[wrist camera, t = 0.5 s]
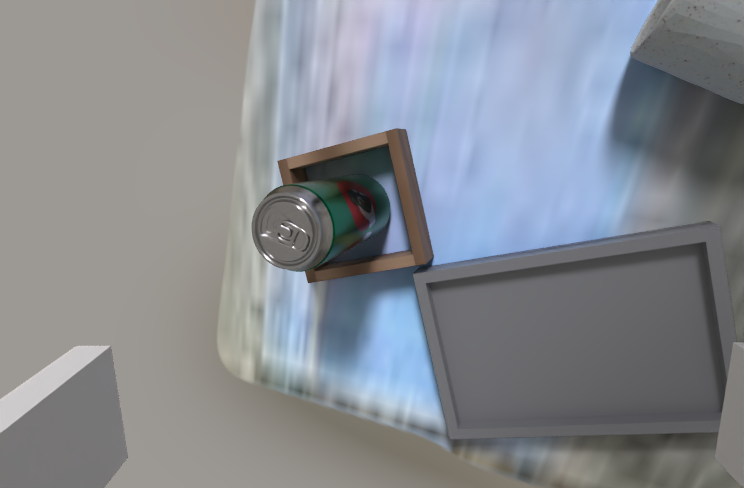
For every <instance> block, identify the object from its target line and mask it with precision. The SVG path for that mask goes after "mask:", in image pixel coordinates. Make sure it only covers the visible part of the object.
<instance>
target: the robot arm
mask: <svg viewBox="0 0 744 488" xmlns="http://www.w3.org/2000/svg"><path fill="white" fill-rule="evenodd" d="M127 458H128V454H127V447H126V441H125V434H124V428H123V421H122V415H121V408H120V402H119V395H118V389H117V382H116V375H115V369H114V363H113V356H112V349H111V346H76V347H74V348H73V349H71V350H70V351H68V352H67V353H66V354H64V355H63V356H61V357H60V358H58V359H57V360H56V361H54V362H53V363H52V364H50V365H48V366H47V367H46V368H44V369H43V370H41V371H40V372H38V373H37V374H36V375H34V376H33V377H31V378H30V379H29V380H27V381H26V382H24V383H23V384H22V385H20V386H19V387H17V388H16V389H14V390H13V391H11V392H10V393H9V394H7V395H6V396H4V397H3V398H1V399H0V488H104V487H105V486H106V485H107V483H108V482H109V481H110V480H111V478H112V477H113V476H114V474H115V473H116V472H117V471H118V470H119V468H120V467H121V466H122V464H123V463H124V462H125V461H126V459H127ZM714 459H715V460H716V461H717V462H718V463H719V464H720V465H721V466H722V467H723V468H724V469H725V470H726V471H727V472H728V473H729V474H730V475H731V476H732V477H733V478H734V479H735V480H736V481H737V482H738V483H739V484H740V485H741V486H742V487H743V488H744V342H739V343H733V347H732V353H731V360H730V366H729V372H728V378H727V384H726V390H725V397H724V403H723V409H722V415H721V421H720V427H719V434H718V440H717V446H716V452H715V458H714Z"/></svg>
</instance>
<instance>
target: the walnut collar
mask: <svg viewBox="0 0 744 488" xmlns="http://www.w3.org/2000/svg"><path fill="white" fill-rule="evenodd" d="M386 146H389V150H390V154H391V159H392V163H393V167H394V172H395V176H396V181H397V185H398V190H399V194H400V199H401V203H402V208H403V212H404V217H405V221H406V226H407V230H408V235H409V239H410V243H411V248H412V250H406V251H401V252H395V253H389V254H384V255H378V256H372V257H367V258H361V259H355V260H350V261H344V262H338V263H333V264H328V262H325V263H323V264H321V265H319V266H318V267H316V268H314V269H311V270H308V271H305V273H306V277H307V281H308V283H311V282H318V281H324V280H330V279H336V278H342V277H348V276H354V275H360V274H367V273H373V272H379V271H385V270H391V269H397V268H403V267H409V266H415V265H422V264H426V263H427V262H428V261H430V260H431V259H432V258H433V257H434V255H433V250H432V246H431V241H430V237H429V232H428V228H427V223H426V218H425V214H424V209H423V205H422V200H421V196H420V191H419V186H418V182H417V177H416V173H415V168H414V164H413V159H412V154H411V150H410V145H409V141H408V136H407V132H406V130H405V129H393V130H389V131H385V132H382V133H378V134H374V135H371V136H367V137H364V138H360V139H356V140H353V141H349V142H345V143H342V144H338V145H334V146H331V147H327V148H323V149H320V150H316V151H313V152H309V153H305V154H302V155H298V156H294V157H291V158H287V159H283V160H280V161H278V165H279V169H280V173H281V177H282V181H283V185H288V184H294V183H301V182H308V180H307V176H306V172H305V168H306V167H309V166H313V165H317V164H321V163H325V162H328V161H332V160H336V159H340V158H344V157H347V156H351V155H355V154H359V153H363V152H367V151H370V150H374V149H378V148H382V147H386Z"/></svg>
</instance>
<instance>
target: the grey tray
mask: <svg viewBox="0 0 744 488" xmlns="http://www.w3.org/2000/svg"><path fill="white" fill-rule="evenodd" d="M413 278H414V282H415V287H416V291H417V296H418V300H419V305H420V309H421V313H422V318H423V322H424V327H425V331H426V336H427V340H428V345H429V349H430V353H431V358H432V362H433V367H434V371H435V376H436V380H437V385H438V389H439V394H440V398H441V402H442V407H443V411H444V416H445V420H446V425H447V429H448V434H449V438H450V439H482V438H520V437H558V436H595V435H633V434H671V433H709V432H719V427H720V421H721V415H722V409H723V403H724V397H725V390H726V384H727V378H728V372H729V366H730V360H731V353H732V347H733V343H737V338H736V331H735V325H734V318H733V311H732V305H731V298H730V291H729V284H728V278H727V271H726V264H725V258H724V251H723V244H722V237H721V231H720V226H718V225H716V224H714V223H712V222H710V221H708V222H702V223H695V224H689V225H683V226H677V227H671V228H664V229H658V230H652V231H646V232H640V233H633V234H627V235H621V236H615V237H608V238H602V239H596V240H590V241H584V242H577V243H571V244H565V245H559V246H553V247H546V248H540V249H534V250H528V251H522V252H515V253H509V254H503V255H497V256H490V257H484V258H478V259H472V260H466V261H459V262H453V263H447V264H441V265H435V266H428V267H422V268H419V269H418V270H417V271H416V272H415V273H414V274H413Z"/></svg>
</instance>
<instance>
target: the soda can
mask: <svg viewBox="0 0 744 488" xmlns="http://www.w3.org/2000/svg"><path fill="white" fill-rule="evenodd" d="M389 215H390V202H389V198H388V196H387V193H386V191H385V190H384V188H383V187H382V186H381V184H379V183H378V182H377V181H376V180H374V179H373V178H371V177H369V176H365V175H359V174H357V175H348V176H342V177H335V178H328V179H321V180H315V181H308V182H301V183H294V184H288V185H283V186H280V187H278V188H276V189H274V190H273V191H271V192H270V193H269V194H268V195H267V196H266V197H265V198H264V200H263V201H262V202H261V203H260V204H259V206H258V207H257V209H256V211H255V213H254V216H253V220H252V236H253V239H254V243H255V245H256V247H257V249H258V251H259V252H260V254H261V255H262V256H263V257H264V258H265V259H266V260H267V261H268V262H269V263H271V264H272V265H274V266H276V267H279V268H282V269H287V270H290V271H296V272H302V271H308V270H311V269H314V268H316V267H318V266H319V265H321V264H323V263H325V262H327V261H329V260H331V259H333V258H335V257H337V256H339V255H340V254H342V253H344V252H346V251H348V250H350V249H352V248H354V247H356V246H358V245H359V244H361V243H363V242H365V241H367V240H369V239H371V238H373V237H375V236H376V235H378V234H379V233H380V232H381V231H382V230H383V229H384V227H385V226H386V224H387V222H388V219H389Z"/></svg>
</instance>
